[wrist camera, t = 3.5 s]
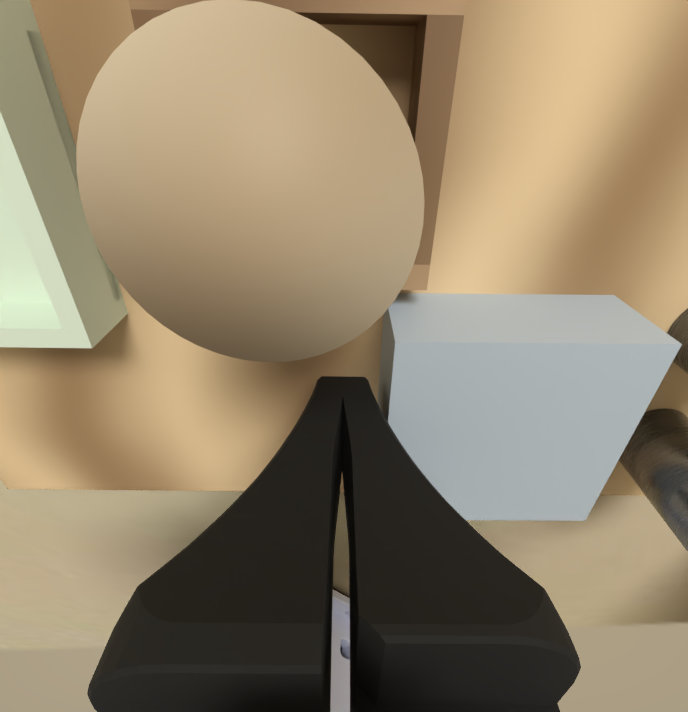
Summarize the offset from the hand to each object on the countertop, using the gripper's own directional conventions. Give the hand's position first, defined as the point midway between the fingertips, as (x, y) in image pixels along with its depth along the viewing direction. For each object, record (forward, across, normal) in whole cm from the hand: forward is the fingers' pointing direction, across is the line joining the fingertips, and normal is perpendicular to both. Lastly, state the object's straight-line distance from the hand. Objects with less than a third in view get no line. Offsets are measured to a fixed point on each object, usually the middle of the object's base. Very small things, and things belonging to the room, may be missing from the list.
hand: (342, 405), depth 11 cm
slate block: (+1, -4, 0) cm, 4 cm away
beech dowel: (+1, +1, -6) cm, 6 cm away
